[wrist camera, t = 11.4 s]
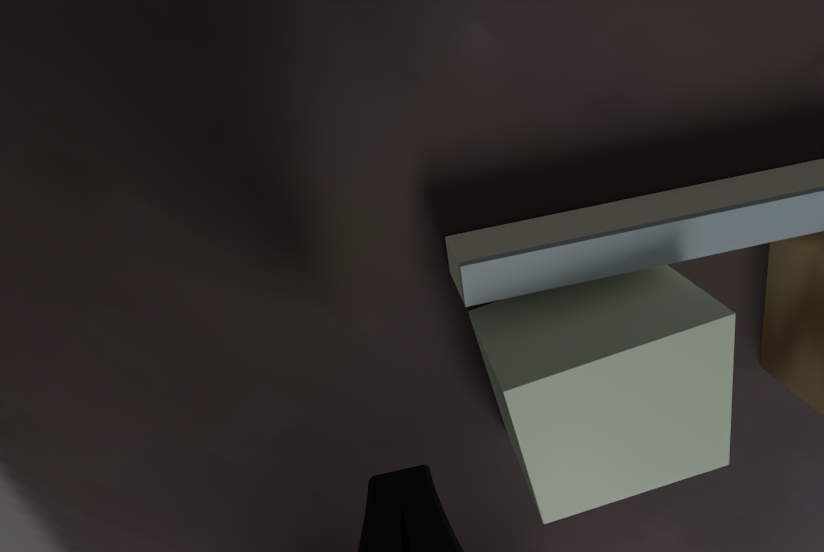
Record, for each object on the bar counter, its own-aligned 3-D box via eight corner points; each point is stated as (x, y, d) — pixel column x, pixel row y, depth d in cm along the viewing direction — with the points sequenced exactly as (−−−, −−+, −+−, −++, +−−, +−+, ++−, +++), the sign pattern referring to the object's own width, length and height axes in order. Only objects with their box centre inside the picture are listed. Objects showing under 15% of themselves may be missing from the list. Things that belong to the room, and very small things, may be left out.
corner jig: (939, 360, 19) (1000, 393, 17) (476, 464, 18) (491, 511, 16) (1072, 106, 14) (1178, 116, 12) (445, 236, 13) (460, 266, 11)
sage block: (652, 378, 17) (729, 464, 14) (505, 427, 18) (543, 524, 14) (642, 246, 14) (735, 313, 11) (466, 308, 15) (503, 392, 11)
